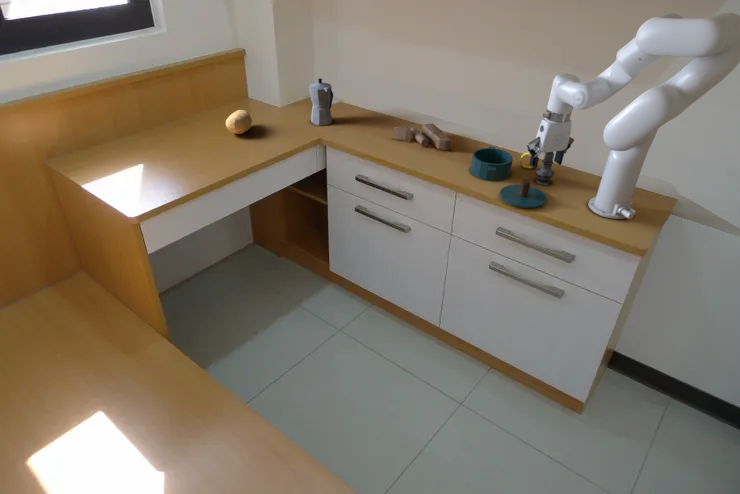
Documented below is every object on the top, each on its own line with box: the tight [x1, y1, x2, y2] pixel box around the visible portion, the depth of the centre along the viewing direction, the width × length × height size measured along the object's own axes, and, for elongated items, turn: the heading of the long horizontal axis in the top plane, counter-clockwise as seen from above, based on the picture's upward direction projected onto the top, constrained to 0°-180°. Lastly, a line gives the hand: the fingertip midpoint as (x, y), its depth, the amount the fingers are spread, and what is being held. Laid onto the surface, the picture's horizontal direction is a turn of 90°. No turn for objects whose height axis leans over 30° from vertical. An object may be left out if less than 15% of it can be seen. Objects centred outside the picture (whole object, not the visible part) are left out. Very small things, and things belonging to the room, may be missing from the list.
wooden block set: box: [392, 123, 452, 151], centre depth 196 cm, size 17×6×18 cm
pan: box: [470, 146, 514, 182], centre depth 177 cm, size 13×19×6 cm
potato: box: [225, 109, 253, 135], centre depth 203 cm, size 10×14×8 cm
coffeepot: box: [308, 77, 334, 127], centre depth 210 cm, size 15×9×18 cm, turn 37°
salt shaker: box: [534, 152, 555, 186], centre depth 170 cm, size 6×6×12 cm
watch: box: [519, 150, 534, 170], centre depth 181 cm, size 6×3×6 cm, turn 78°
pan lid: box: [499, 178, 548, 209], centre depth 162 cm, size 14×14×6 cm
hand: (545, 164), depth 170 cm, fingers open, 9 cm apart
